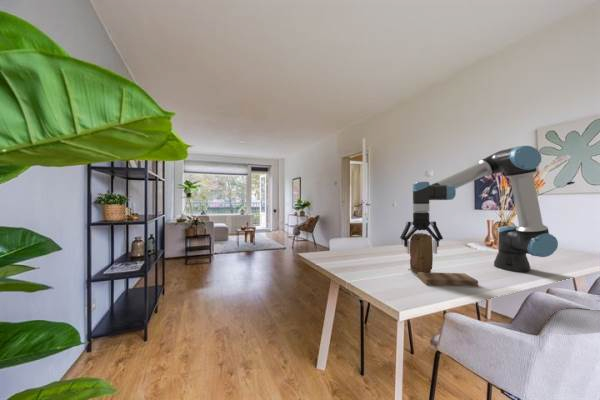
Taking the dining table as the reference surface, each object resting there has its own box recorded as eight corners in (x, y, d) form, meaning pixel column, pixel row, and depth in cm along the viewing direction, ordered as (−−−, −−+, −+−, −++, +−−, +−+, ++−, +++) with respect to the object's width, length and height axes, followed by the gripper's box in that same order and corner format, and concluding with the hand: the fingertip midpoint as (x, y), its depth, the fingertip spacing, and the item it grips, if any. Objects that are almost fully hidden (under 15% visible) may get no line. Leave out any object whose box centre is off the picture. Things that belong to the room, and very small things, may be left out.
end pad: (425, 269, 131) (425, 269, 131) (435, 277, 119) (435, 276, 119) (407, 269, 132) (407, 268, 132) (416, 276, 120) (416, 276, 120)
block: (433, 275, 121) (434, 235, 120) (419, 276, 120) (420, 235, 119) (420, 268, 131) (420, 232, 131) (407, 269, 130) (407, 232, 130)
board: (464, 278, 118) (464, 273, 118) (477, 286, 108) (477, 280, 108) (417, 277, 119) (417, 271, 119) (426, 284, 109) (426, 279, 109)
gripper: (442, 211, 127) (442, 251, 128) (393, 211, 129) (394, 251, 130) (450, 212, 120) (450, 255, 121) (398, 212, 122) (398, 255, 122)
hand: (421, 253), depth 125 cm, fingers open, 13 cm apart
